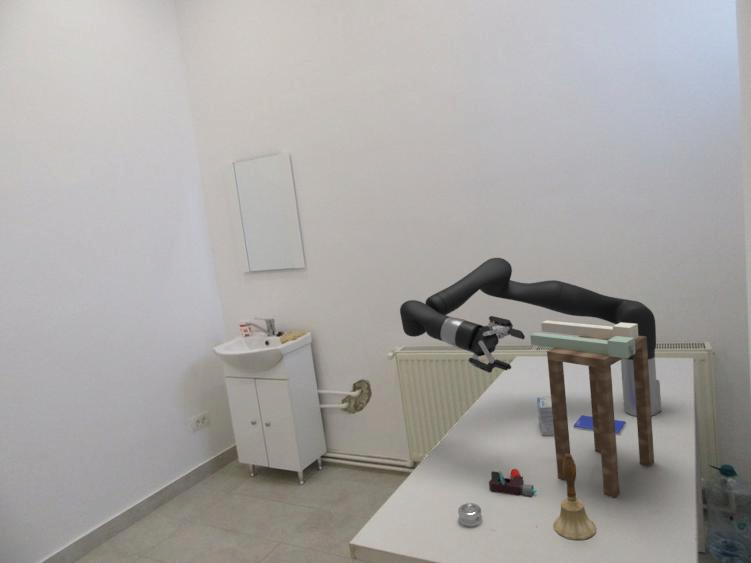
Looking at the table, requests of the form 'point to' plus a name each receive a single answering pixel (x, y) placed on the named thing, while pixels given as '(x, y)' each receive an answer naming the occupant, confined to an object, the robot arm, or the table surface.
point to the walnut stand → (601, 407)
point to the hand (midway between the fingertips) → (516, 351)
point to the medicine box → (545, 415)
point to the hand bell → (573, 509)
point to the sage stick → (587, 344)
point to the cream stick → (591, 329)
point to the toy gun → (510, 484)
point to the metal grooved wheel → (470, 515)
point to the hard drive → (587, 424)
